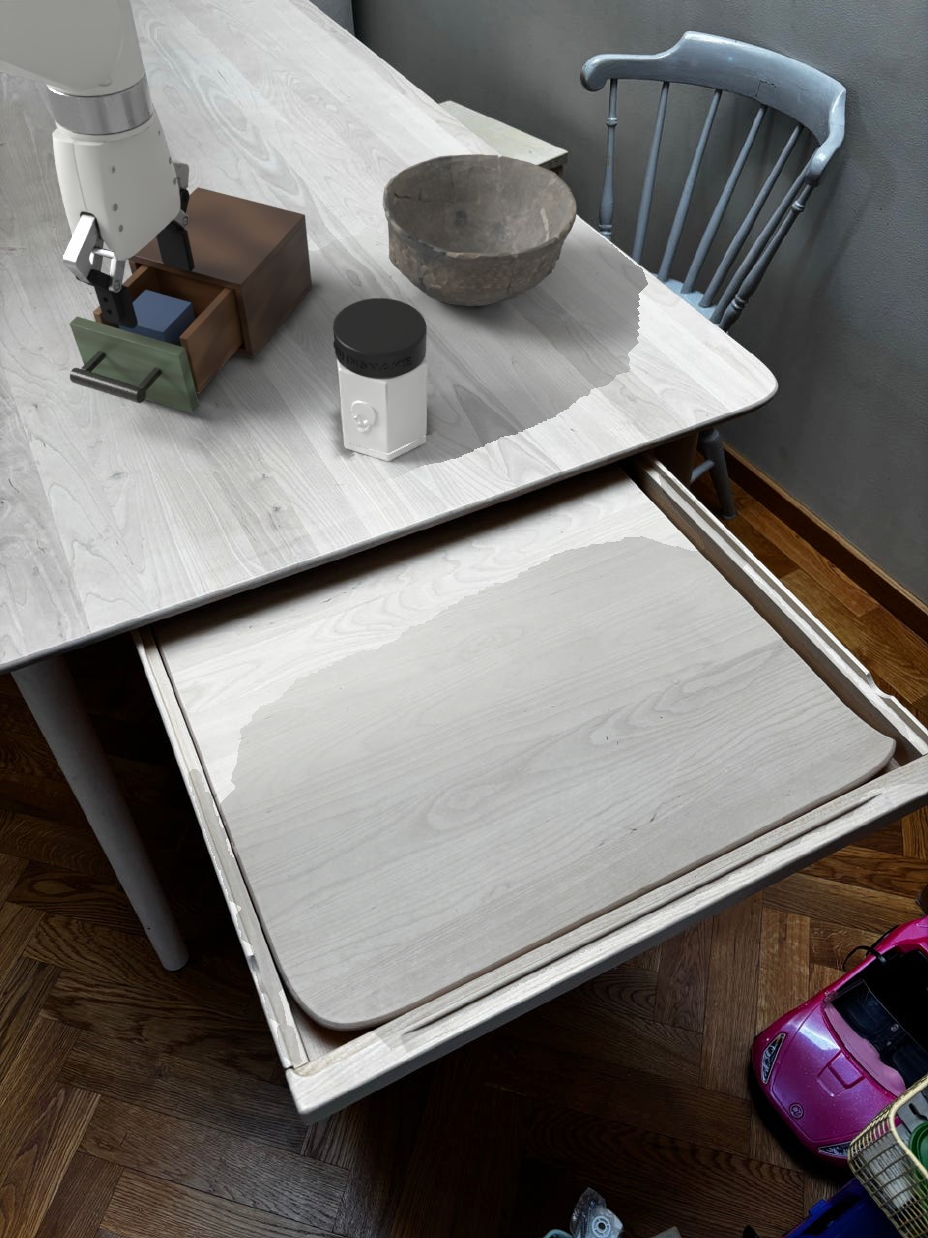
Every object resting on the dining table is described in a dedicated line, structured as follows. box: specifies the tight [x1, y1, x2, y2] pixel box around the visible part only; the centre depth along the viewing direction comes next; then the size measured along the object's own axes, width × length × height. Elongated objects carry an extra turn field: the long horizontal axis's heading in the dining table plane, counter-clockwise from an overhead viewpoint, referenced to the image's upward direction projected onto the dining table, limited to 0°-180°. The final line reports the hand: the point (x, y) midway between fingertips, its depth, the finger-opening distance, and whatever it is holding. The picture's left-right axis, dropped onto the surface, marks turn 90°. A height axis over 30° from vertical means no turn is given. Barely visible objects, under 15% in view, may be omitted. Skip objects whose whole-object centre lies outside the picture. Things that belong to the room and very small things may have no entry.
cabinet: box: [127, 187, 313, 359], centre depth 95 cm, size 14×13×9 cm
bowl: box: [381, 153, 578, 307], centre depth 99 cm, size 21×21×10 cm
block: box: [119, 290, 195, 347], centre depth 88 cm, size 5×5×6 cm
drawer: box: [69, 265, 244, 414], centre depth 88 cm, size 17×11×7 cm
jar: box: [332, 297, 429, 462], centre depth 83 cm, size 9×8×12 cm
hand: (151, 294), depth 84 cm, fingers open, 9 cm apart
